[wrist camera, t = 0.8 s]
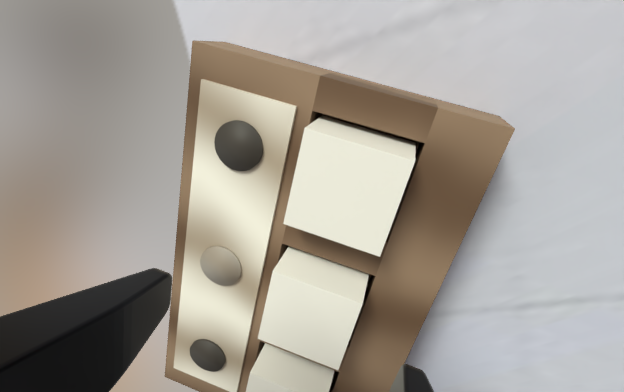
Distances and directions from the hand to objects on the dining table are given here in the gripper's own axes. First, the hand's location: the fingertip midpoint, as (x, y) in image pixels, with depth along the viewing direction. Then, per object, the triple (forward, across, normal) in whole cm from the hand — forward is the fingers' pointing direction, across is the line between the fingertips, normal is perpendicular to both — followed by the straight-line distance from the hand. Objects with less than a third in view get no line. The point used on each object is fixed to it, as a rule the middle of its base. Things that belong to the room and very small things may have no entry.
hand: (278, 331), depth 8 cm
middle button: (+11, 0, +7) cm, 13 cm away
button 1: (+11, 0, 0) cm, 11 cm away
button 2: (+11, 0, +14) cm, 18 cm away
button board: (+13, +2, +7) cm, 15 cm away
